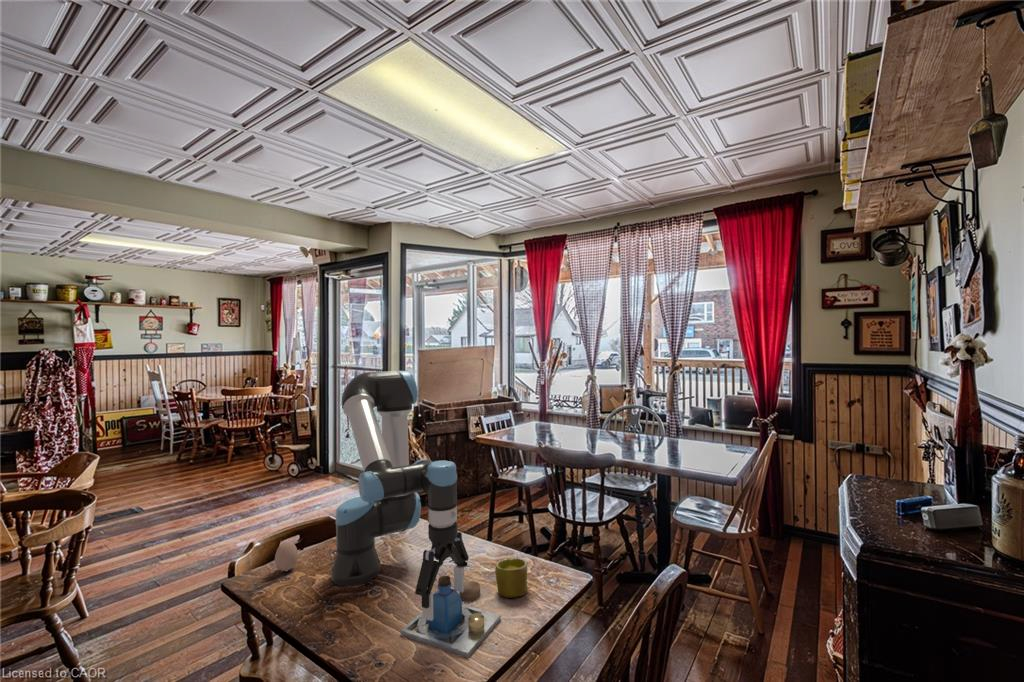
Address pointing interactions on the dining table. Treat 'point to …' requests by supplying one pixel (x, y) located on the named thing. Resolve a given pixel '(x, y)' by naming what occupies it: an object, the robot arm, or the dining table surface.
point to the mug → (511, 577)
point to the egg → (286, 556)
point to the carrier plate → (455, 631)
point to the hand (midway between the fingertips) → (444, 604)
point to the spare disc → (470, 590)
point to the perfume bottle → (446, 607)
